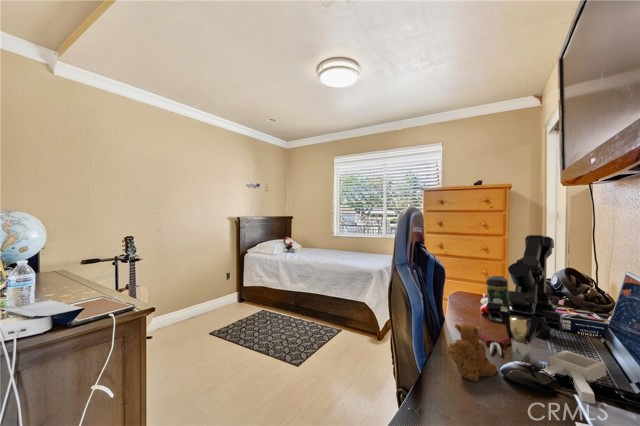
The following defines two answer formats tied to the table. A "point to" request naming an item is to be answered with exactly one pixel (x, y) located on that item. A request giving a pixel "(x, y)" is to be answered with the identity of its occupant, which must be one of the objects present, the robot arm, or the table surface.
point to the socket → (577, 371)
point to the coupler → (520, 339)
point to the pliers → (495, 343)
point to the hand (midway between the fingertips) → (518, 340)
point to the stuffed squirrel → (470, 353)
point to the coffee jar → (497, 292)
